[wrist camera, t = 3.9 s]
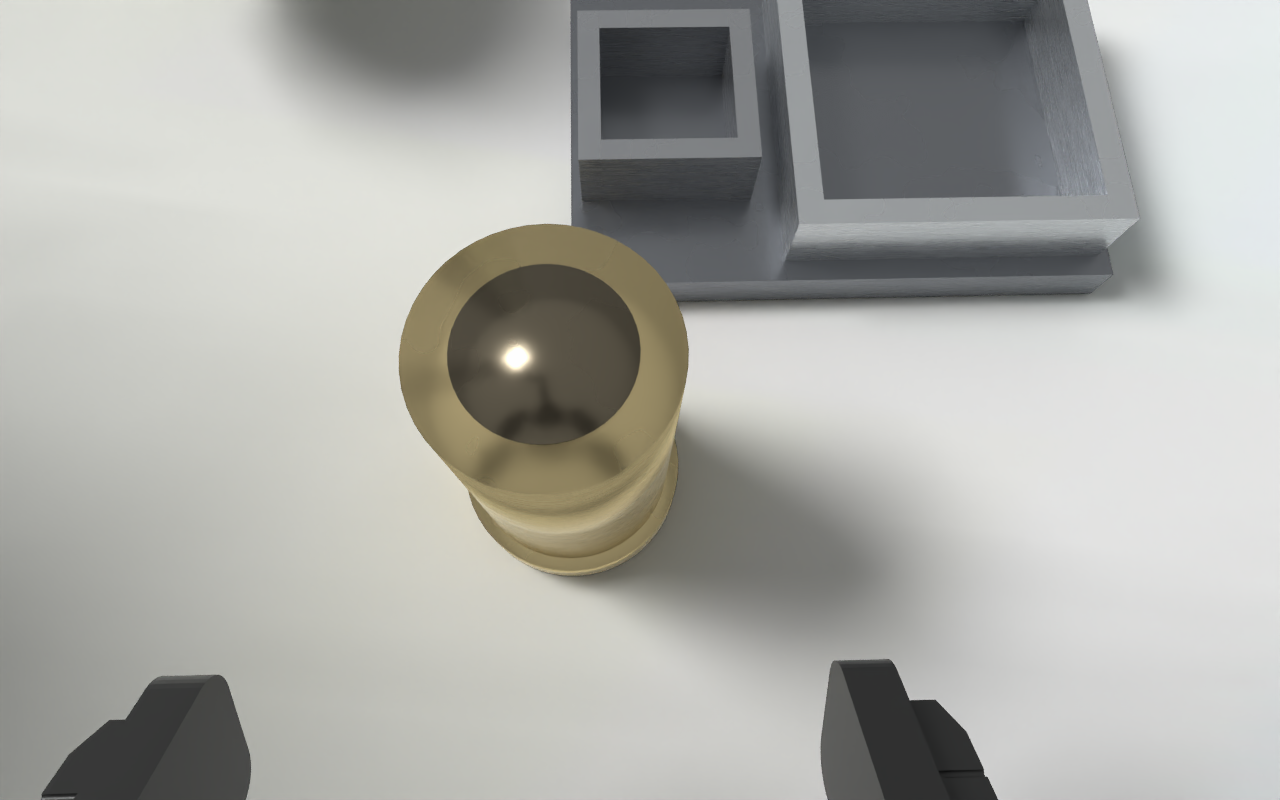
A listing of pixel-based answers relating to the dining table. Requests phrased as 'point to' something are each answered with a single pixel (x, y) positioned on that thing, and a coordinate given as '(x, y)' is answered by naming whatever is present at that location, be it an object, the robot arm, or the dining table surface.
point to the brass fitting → (552, 391)
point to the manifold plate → (848, 145)
